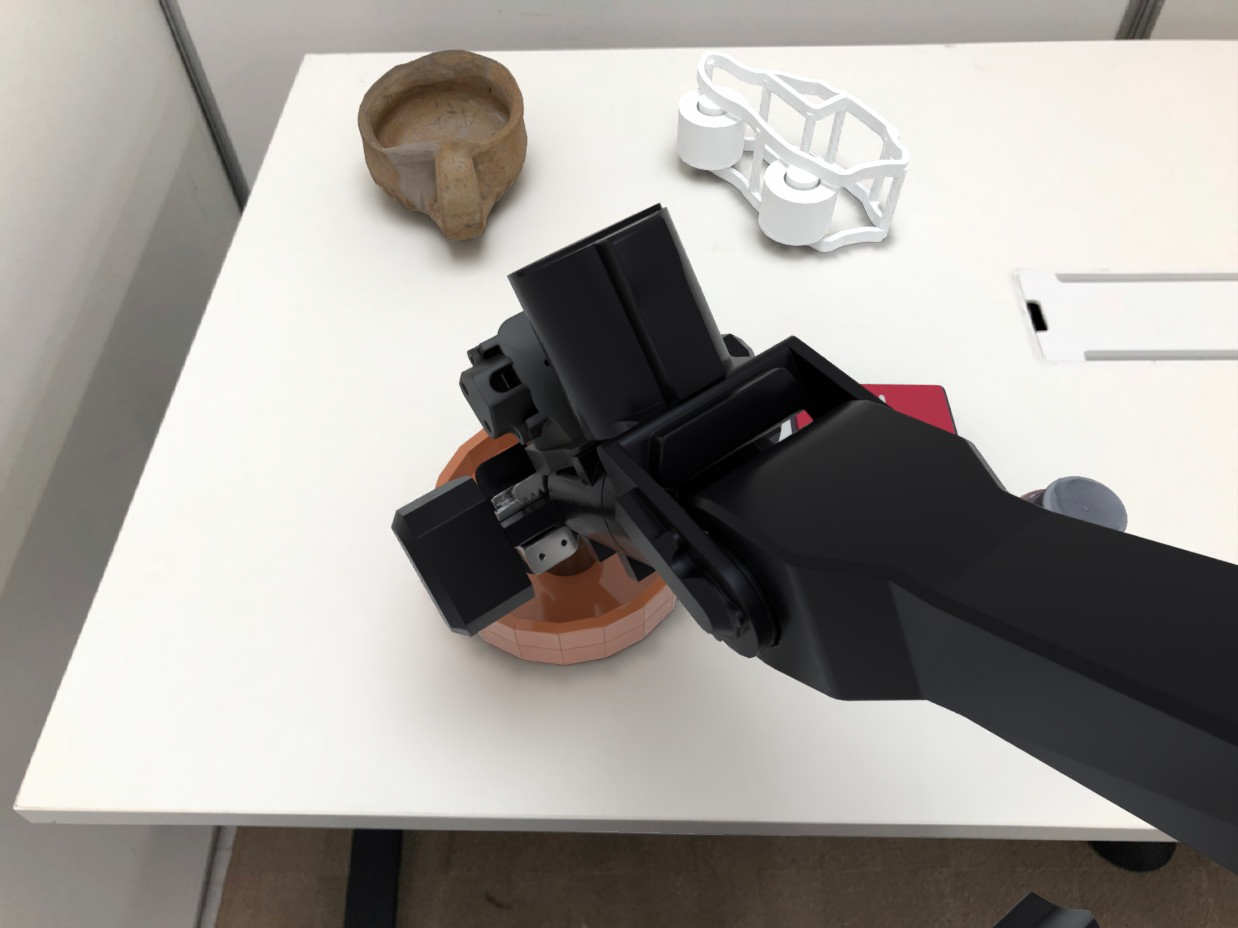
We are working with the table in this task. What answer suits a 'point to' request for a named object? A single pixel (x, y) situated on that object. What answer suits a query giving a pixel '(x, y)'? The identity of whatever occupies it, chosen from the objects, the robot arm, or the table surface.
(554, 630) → the mixing bowl
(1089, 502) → the supplement bottle
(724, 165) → the wheeled car silhouette
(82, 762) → the table surface
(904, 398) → the calculator
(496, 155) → the tan clay cup
